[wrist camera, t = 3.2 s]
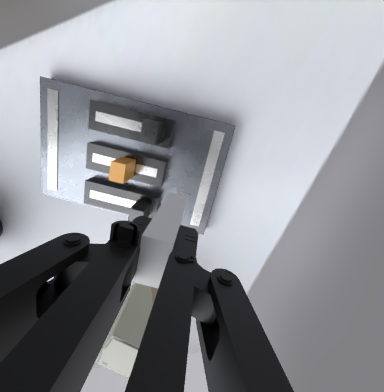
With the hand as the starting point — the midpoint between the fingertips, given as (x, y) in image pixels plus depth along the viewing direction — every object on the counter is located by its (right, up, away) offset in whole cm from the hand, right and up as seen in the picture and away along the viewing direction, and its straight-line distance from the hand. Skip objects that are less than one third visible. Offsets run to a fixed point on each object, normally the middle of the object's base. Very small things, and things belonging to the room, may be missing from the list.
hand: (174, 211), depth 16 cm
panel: (-6, +6, +10) cm, 13 cm away
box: (-6, -13, +17) cm, 22 cm away
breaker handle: (-6, +4, +7) cm, 10 cm away
